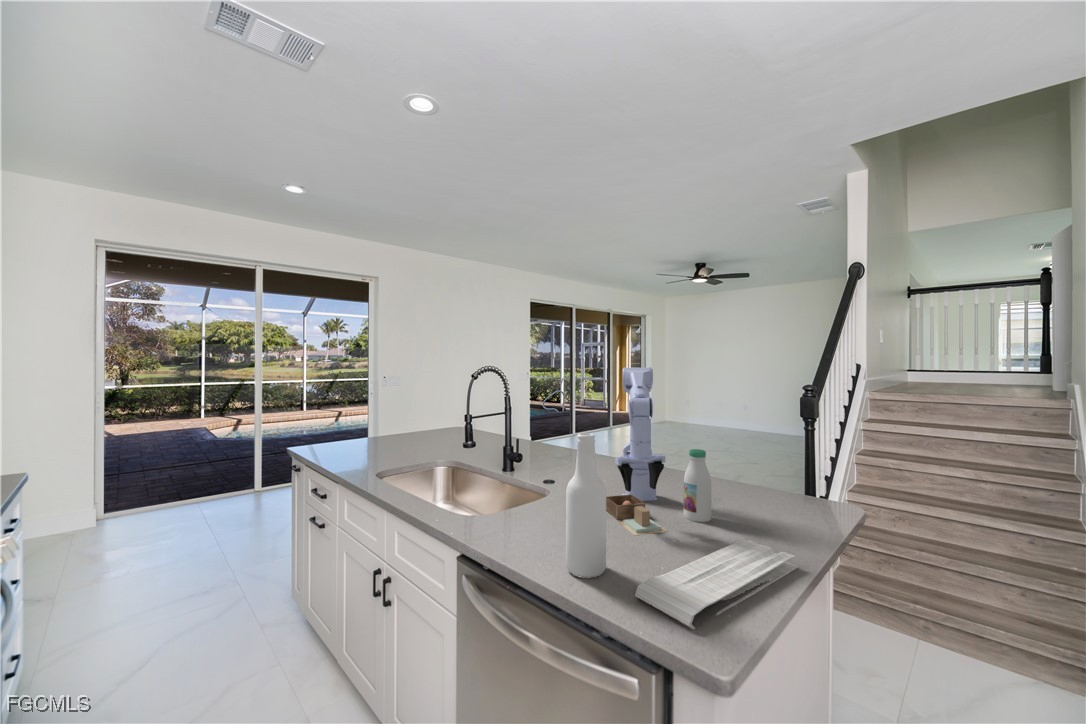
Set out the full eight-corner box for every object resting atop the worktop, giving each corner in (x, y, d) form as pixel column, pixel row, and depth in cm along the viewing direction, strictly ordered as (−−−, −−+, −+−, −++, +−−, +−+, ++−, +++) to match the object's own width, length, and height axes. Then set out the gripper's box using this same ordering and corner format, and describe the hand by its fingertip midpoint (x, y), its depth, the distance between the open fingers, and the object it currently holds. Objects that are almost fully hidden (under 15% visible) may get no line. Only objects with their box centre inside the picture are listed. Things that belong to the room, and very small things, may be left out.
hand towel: (799, 552, 98) (689, 613, 75) (799, 569, 98) (689, 636, 75) (746, 534, 108) (634, 584, 85) (746, 550, 109) (634, 603, 85)
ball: (629, 508, 137) (629, 499, 137) (634, 511, 134) (634, 502, 134) (620, 509, 136) (620, 499, 136) (625, 512, 133) (625, 502, 133)
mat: (649, 519, 129) (649, 518, 129) (667, 532, 119) (667, 531, 119) (617, 522, 126) (617, 521, 126) (634, 536, 116) (634, 535, 116)
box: (631, 508, 139) (631, 494, 139) (645, 517, 130) (645, 503, 130) (604, 510, 136) (604, 496, 136) (617, 520, 128) (617, 505, 127)
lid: (647, 520, 127) (647, 503, 127) (661, 529, 120) (661, 512, 120) (623, 522, 125) (623, 505, 125) (636, 532, 118) (636, 514, 118)
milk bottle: (707, 514, 133) (707, 448, 133) (714, 523, 125) (714, 453, 125) (681, 513, 134) (681, 447, 134) (686, 522, 126) (686, 452, 126)
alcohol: (580, 557, 104) (580, 429, 104) (613, 568, 98) (613, 433, 98) (558, 571, 97) (558, 434, 97) (591, 583, 92) (591, 439, 91)
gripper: (623, 444, 117) (623, 495, 117) (671, 442, 121) (671, 491, 121) (611, 440, 124) (611, 488, 124) (657, 437, 128) (657, 484, 128)
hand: (640, 489), depth 123 cm, fingers open, 7 cm apart
